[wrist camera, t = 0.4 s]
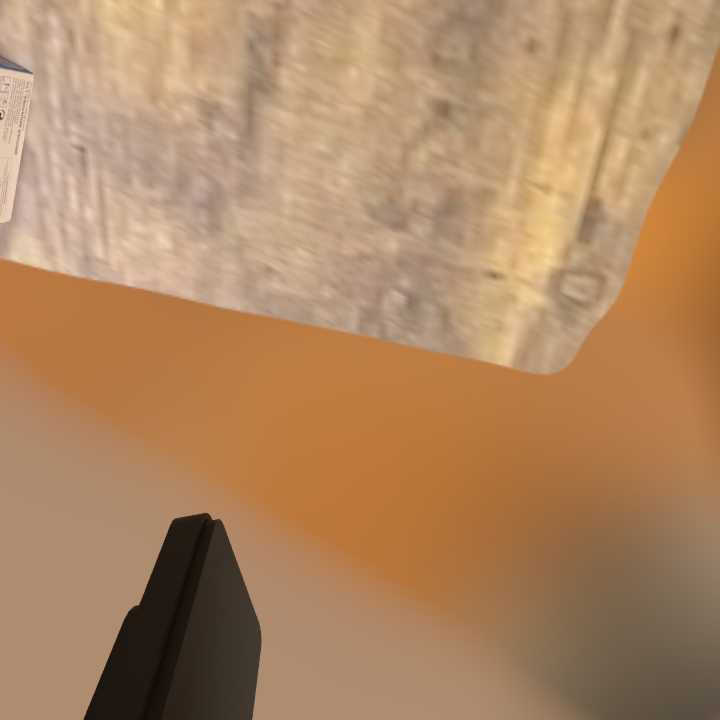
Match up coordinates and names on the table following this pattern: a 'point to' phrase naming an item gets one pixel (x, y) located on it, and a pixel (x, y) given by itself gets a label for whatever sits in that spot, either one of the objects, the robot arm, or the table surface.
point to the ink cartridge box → (12, 129)
